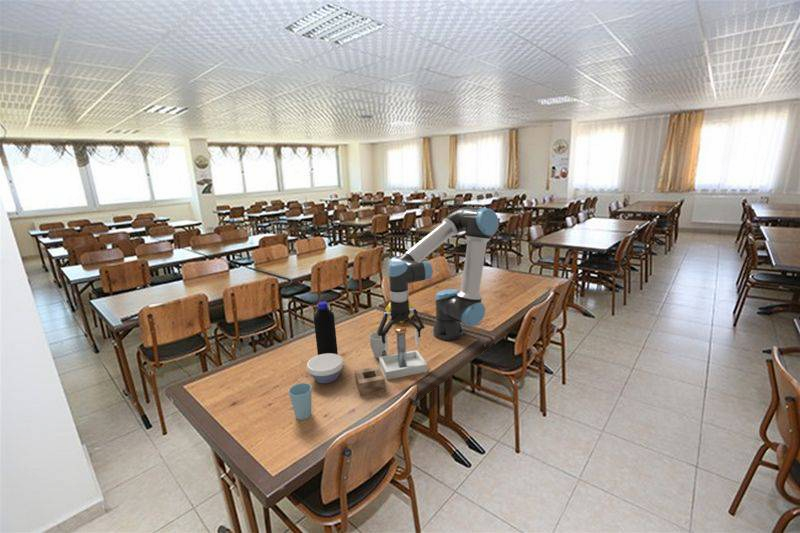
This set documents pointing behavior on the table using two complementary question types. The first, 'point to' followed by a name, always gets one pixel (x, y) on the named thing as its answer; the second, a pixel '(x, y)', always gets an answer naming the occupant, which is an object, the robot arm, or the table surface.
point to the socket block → (369, 380)
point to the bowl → (325, 367)
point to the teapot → (390, 310)
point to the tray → (393, 371)
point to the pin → (401, 346)
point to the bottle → (325, 330)
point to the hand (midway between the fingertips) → (401, 347)
